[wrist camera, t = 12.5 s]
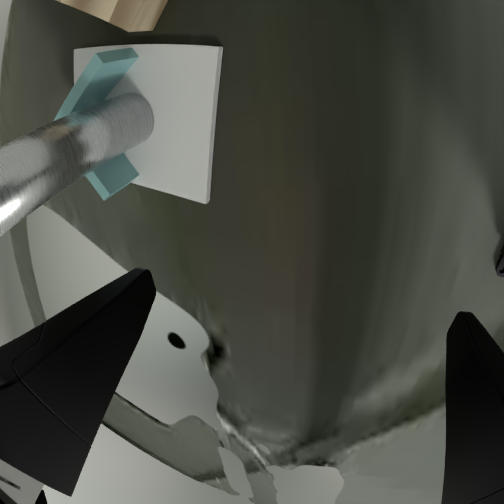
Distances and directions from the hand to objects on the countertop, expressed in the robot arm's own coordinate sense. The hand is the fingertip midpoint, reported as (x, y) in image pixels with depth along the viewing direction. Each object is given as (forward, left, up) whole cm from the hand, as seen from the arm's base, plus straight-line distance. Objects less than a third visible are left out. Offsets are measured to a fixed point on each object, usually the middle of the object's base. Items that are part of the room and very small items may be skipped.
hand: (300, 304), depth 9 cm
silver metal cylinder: (+15, -2, -12) cm, 19 cm away
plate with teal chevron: (+15, -2, -12) cm, 20 cm away
